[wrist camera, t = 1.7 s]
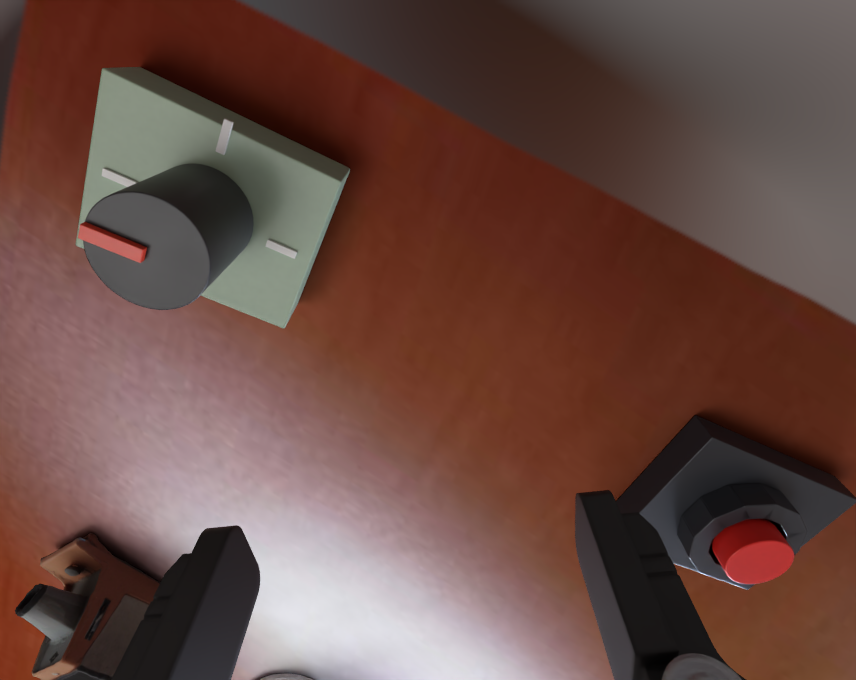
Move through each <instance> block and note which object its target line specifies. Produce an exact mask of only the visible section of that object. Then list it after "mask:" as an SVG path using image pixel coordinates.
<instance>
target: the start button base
mask: <svg viewBox="0 0 856 680" xmlns="http://www.w3.org/2000/svg"><path fill="white" fill-rule="evenodd" d="M855 503H856V497H855V496H854V495H853V494H852V493H851V492H850V491H849V490H848V489H847V488H846V487H845V486H844V485H843V484H842V483H841V482H840V481H839V480H838V479H837V478H836V477H835V476H833V475H831V474H828V473H826V472H824V471H822V470H819V469H817V468H815V467H812V466H810V465H808V464H806V463H803V462H801V461H799V460H797V459H794V458H792V457H790V456H787V455H785V454H783V453H781V452H778V451H776V450H774V449H772V448H769V447H767V446H765V445H762V444H760V443H758V442H756V441H753V440H751V439H749V438H746V437H744V436H742V435H740V434H737V433H735V432H733V431H731V430H728V429H726V428H724V427H721V426H719V425H717V424H715V423H712V422H710V421H708V420H706V419H703V418H701V417H699V416H696V415H695V416H694V417H693V418H692V419H691V420H690V421H689V423H688V424H687V425H686V426H685V427H684V428H683V429H682V430H681V431H680V432H679V433H678V435H677V436H676V437H675V438H674V439H673V440H672V441H671V442H670V443H669V444H668V445H667V447H666V448H665V449H664V450H663V451H662V452H661V453H660V454H659V455H658V456H657V457H656V459H655V460H654V461H653V462H652V463H651V464H650V465H649V466H648V467H647V468H646V469H645V470H644V472H643V473H642V474H641V475H640V476H639V477H638V478H637V479H636V480H635V481H634V482H633V484H632V485H631V486H630V487H629V488H628V489H627V490H626V491H625V492H624V493H623V494H622V496H621V497H620V498H619V499H618V500H617V501H616V504H617V506H618V508H619V511H620V513H621V514H624V513H634V512H639V513H640V514H641V515H642V516H643V517H644V518H645V519H646V520H647V521H648V522H649V523H650V524H651V525H652V526H653V527H654V528H655V529H656V530H657V531H658V533H659V535H660V537H661V539H662V541H663V544H664V546H665V548H666V550H667V552H668V556H669V557H670V558H671V560H672V562H673V563H674V564H677V565H680V566H683V567H686V568H688V569H691V570H694V571H697V572H699V573H702V574H705V575H707V576H710V577H713V578H716V579H719V580H722V581H725V582H728V583H730V584H733V585H736V586H739V587H742V588H744V589H747V590H748V589H750V588H751V587H752V586H753V585H755V584H742V583H738V582H735V581H733V580H731V579H730V578H729V577H728V576H727V575H726V573H725V571H724V570H723V568H722V566H721V564H720V563H719V561H718V559H717V558H716V556H715V554H714V552H713V550H712V542H713V539H714V538H715V537H716V536H717V535H718V534H719V533H720V532H721V531H722V530H723V529H725V528H726V527H729V526H731V525H734V524H736V523H739V522H741V521H744V520H746V519H765V520H767V521H770V522H771V523H773V524H774V525H775V526H776V528H777V529H778V530H779V532H780V533H781V534H782V536H783V537H784V538H785V540H786V541H787V542H788V544H789V545H790V546H791V548H792V549H793V552H794V555H795V554H796V553H797V552H798V551H799V550H800V548H801V547H802V546H803V545H804V544H805V543H807V542H808V541H809V540H810V539H811V538H813V537H814V536H815V535H816V534H818V533H819V532H820V531H821V530H823V529H824V528H825V527H826V526H828V525H829V524H830V523H831V522H833V521H834V520H835V519H836V518H837V517H839V516H840V515H841V514H842V513H844V512H845V511H846V510H847V509H849V508H850V507H851V506H852V505H854V504H855Z"/></svg>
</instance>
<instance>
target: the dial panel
mask: <svg viewBox="0 0 856 680" xmlns="http://www.w3.org/2000/svg"><path fill="white" fill-rule="evenodd" d="M182 164H202V165H206V166H210V167H212V168H215V169H217V170H219V171H221V172H223V173H224V174H226V175H227V176H228V177H230V178H231V179H232V180H233V181H234V182H235V183H236V184H237V185H238V186H239V187H240V188H241V190H242V191H243V192H244V194H245V196H246V197H247V199H248V201H249V204H250V206H251V209H252V214H253V222H254V225H253V233H252V237H251V239H250V241H249V243H248V245H247V246H246V248H245V249H244V250H243V251H242V252H241V253H240V254H239V255H238V256H237V257H236V259H235V260H234V261H233V262H232V263H231V264H230V265H229V266H228V267H227V268H226V269H225V270H224V271H223V272H222V273H221V274H220V275H219V276H218V277H217V278H216V279H215V280H214V282H213V283H212V284H211V285H210V286H209V287H208V288H207V289H206V290H205V291H204V292H203V293H202V294H201V296H204V297H206V298H209V299H211V300H214V301H216V302H219V303H221V304H224V305H226V306H229V307H231V308H234V309H236V310H239V311H241V312H244V313H246V314H249V315H251V316H254V317H256V318H259V319H261V320H264V321H266V322H269V323H271V324H274V325H276V326H279V327H281V328H285V327H286V325H287V323H288V321H289V319H290V317H291V315H292V313H293V312H294V310H295V308H296V306H297V304H298V302H299V299H300V296H301V294H302V291H303V289H304V286H305V284H306V281H307V279H308V276H309V274H310V271H311V268H312V266H313V263H314V261H315V258H316V256H317V253H318V251H319V248H320V246H321V243H322V240H323V238H324V235H325V233H326V230H327V228H328V225H329V223H330V220H331V217H332V215H333V212H334V210H335V207H336V205H337V202H338V200H339V197H340V195H341V192H342V189H343V187H344V184H345V182H346V179H347V177H348V174H349V172H350V168H348V167H346V166H344V165H342V164H340V163H338V162H336V161H334V160H332V159H330V158H328V157H325V156H323V155H321V154H319V153H317V152H315V151H313V150H311V149H309V148H307V147H305V146H303V145H301V144H299V143H296V142H294V141H292V140H290V139H288V138H286V137H284V136H282V135H280V134H278V133H276V132H274V131H272V130H270V129H267V128H265V127H263V126H261V125H259V124H257V123H255V122H253V121H251V120H249V119H247V118H245V117H243V116H240V115H238V114H236V113H234V112H232V111H230V110H228V109H226V108H224V107H222V106H220V105H218V104H216V103H214V102H211V101H209V100H207V99H205V98H203V97H201V96H199V95H197V94H195V93H193V92H191V91H189V90H187V89H185V88H182V87H180V86H178V85H176V84H174V83H172V82H170V81H168V80H166V79H164V78H162V77H160V76H158V75H156V74H153V73H151V72H149V71H147V70H145V69H143V68H141V67H125V68H102V72H101V79H100V85H99V92H98V99H97V105H96V112H95V119H94V125H93V132H92V139H91V145H90V152H89V159H88V165H87V172H86V179H85V185H84V192H83V199H82V205H81V212H80V219H79V226H78V232H77V239H76V246H78V247H81V248H83V249H84V245H83V240H81V239H79V238H78V234H79V228H80V224H81V223H84V222H85V219H86V217H87V215H88V213H89V211H90V210H91V208H92V207H93V206H94V205H95V204H96V203H97V202H98V201H100V200H101V199H102V198H104V197H106V196H108V195H110V194H112V193H115V192H117V191H119V190H122V189H124V188H126V187H129V186H131V185H133V184H136V183H138V182H140V181H143V180H145V179H147V178H150V177H152V176H154V175H157V174H159V173H161V172H164V171H166V170H168V169H171V168H173V167H176V166H179V165H182Z"/></svg>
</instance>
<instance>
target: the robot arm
mask: <svg viewBox="0 0 856 680" xmlns="http://www.w3.org/2000/svg"><path fill="white" fill-rule="evenodd" d="M575 539H576V548H577V554H578V559H579V563H580V567H581V570H582V573H583V577H584V580H585V583H586V587H587V590H588V593H589V597H590V600H591V603H592V607H593V610H594V613H595V616H596V620H597V623H598V626H599V630H600V633H601V636H602V640H603V643H604V646H605V650H606V653H607V656H608V660H609V663H610V666H611V669H612V673H613V676H614V679H615V680H746V679H744V678H743V677H741V676H740V675H739V674H737V673H736V672H735V671H734V670H733V669H732V668H730V667H729V666H728V665H727V664H726V663H725V661H724V660H723V659H722V658H721V657H720V655H719V654H718V653H717V651H716V649H715V648H714V646H713V644H712V642H711V640H710V638H709V636H708V634H707V632H706V630H705V628H704V626H703V624H702V621H701V619H700V617H699V615H698V613H697V611H696V609H695V607H694V605H693V603H692V601H691V599H690V597H689V595H688V593H687V591H686V589H685V587H684V585H683V583H682V580H681V578H680V576H679V575H677V570H676V568H675V566H674V564H673V562H672V560H671V558H670V557H669V556H668V552H667V550H666V548H665V546H664V544H663V541H662V539H661V537H660V535H659V533H658V531H657V530H656V529H655V528H654V527H653V526H652V525H651V524H650V523H649V522H648V521H647V520H646V519H645V518H644V517H643V516H642V515H641V514H640V513H639V512H634V513H624V514H621V513H620V511H619V508H618V506H617V504H616V501H615V499H614V497H613V495H612V493H611V492H610V491H609V490H605V491H595V492H585V493H577V494H576V515H575ZM259 586H260V571H259V566H258V564H257V561H256V559H255V557H254V555H253V553H252V550H251V548H250V546H249V544H248V542H247V539H246V537H245V535H244V533H243V531H242V529H241V528H240V527H239V526H227V527H217V528H207V529H205V530H204V531H203V532H202V533H201V535H200V537H199V539H198V541H197V543H196V545H195V547H194V549H193V551H192V553H190V554H183V555H182V556H181V557H180V558H179V559H178V560H177V561H176V562H175V563H174V565H173V566H172V567H171V568H170V569H169V570H168V571H167V572H166V573H165V575H164V577H163V579H162V581H161V583H160V584H159V586H158V588H157V590H156V592H155V594H154V596H153V601H151V602H150V604H149V606H148V608H147V610H146V612H145V614H144V619H143V620H141V622H140V624H139V626H138V628H137V630H136V632H135V634H134V636H133V638H132V640H131V641H130V643H129V645H128V647H127V649H126V651H125V653H124V655H123V657H122V659H121V661H120V663H119V665H118V667H117V669H116V671H115V673H114V675H113V677H112V679H111V680H231V678H232V674H233V671H234V668H235V665H236V662H237V659H238V655H239V652H240V649H241V646H242V643H243V640H244V636H245V633H246V630H247V627H248V624H249V621H250V617H251V614H252V611H253V608H254V605H255V602H256V598H257V595H258V592H259Z"/></svg>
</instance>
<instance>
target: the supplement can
mask: <svg viewBox="0 0 856 680" xmlns="http://www.w3.org/2000/svg"><path fill="white" fill-rule="evenodd" d="M260 680H313V679H311V678H308V677H304V676H301V675H295V674H287V673H286V674H273V675H270V676H267V677H263V678H261V679H260Z"/></svg>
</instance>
